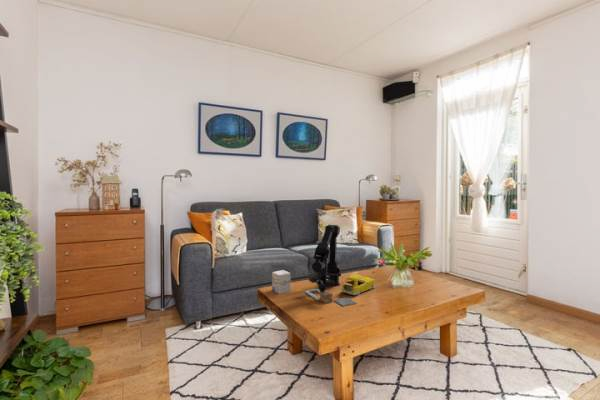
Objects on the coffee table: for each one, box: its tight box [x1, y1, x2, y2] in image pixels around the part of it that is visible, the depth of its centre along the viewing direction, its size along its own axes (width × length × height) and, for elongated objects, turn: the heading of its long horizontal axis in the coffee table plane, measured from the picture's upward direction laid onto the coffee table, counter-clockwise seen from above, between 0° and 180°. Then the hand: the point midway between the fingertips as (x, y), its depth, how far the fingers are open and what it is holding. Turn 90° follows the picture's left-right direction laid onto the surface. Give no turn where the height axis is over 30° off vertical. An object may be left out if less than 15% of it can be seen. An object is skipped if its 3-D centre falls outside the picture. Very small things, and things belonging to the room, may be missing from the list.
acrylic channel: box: [305, 288, 320, 301], centre depth 189 cm, size 8×14×1 cm, turn 28°
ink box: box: [271, 269, 292, 295], centre depth 196 cm, size 9×8×12 cm
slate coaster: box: [333, 297, 357, 307], centre depth 178 cm, size 9×9×1 cm
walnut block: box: [319, 290, 333, 304], centre depth 181 cm, size 4×6×4 cm
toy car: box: [341, 273, 375, 296], centre depth 198 cm, size 12×25×10 cm, turn 136°
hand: (321, 294), depth 184 cm, fingers closed
